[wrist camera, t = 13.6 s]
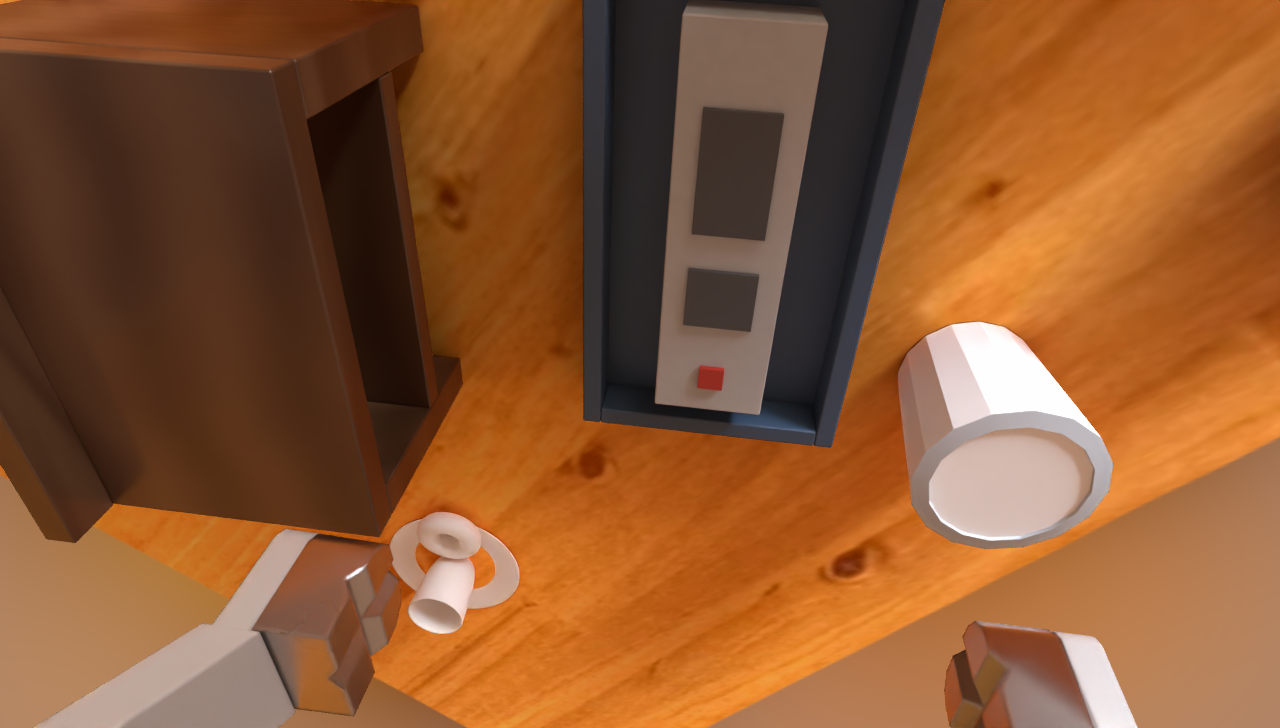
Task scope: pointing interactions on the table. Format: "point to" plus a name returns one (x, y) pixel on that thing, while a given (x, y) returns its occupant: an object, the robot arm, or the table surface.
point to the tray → (823, 224)
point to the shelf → (210, 263)
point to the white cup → (995, 441)
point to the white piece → (450, 570)
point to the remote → (733, 195)
